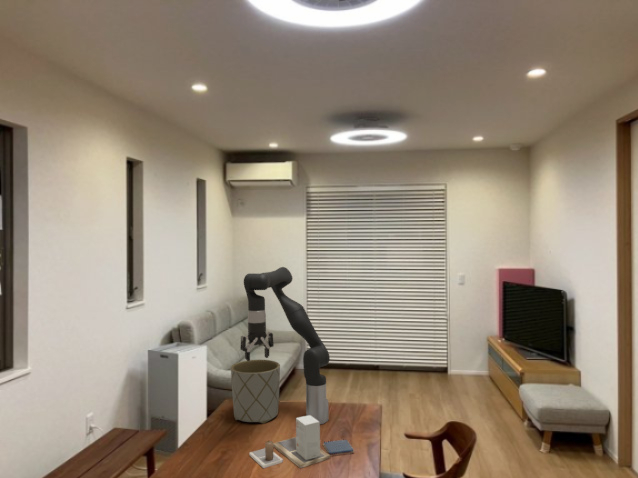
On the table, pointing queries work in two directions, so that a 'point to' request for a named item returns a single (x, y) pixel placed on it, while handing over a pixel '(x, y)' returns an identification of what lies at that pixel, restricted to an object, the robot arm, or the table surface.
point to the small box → (308, 437)
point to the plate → (266, 456)
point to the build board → (290, 452)
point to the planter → (255, 390)
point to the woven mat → (338, 447)
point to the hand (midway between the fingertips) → (257, 358)
